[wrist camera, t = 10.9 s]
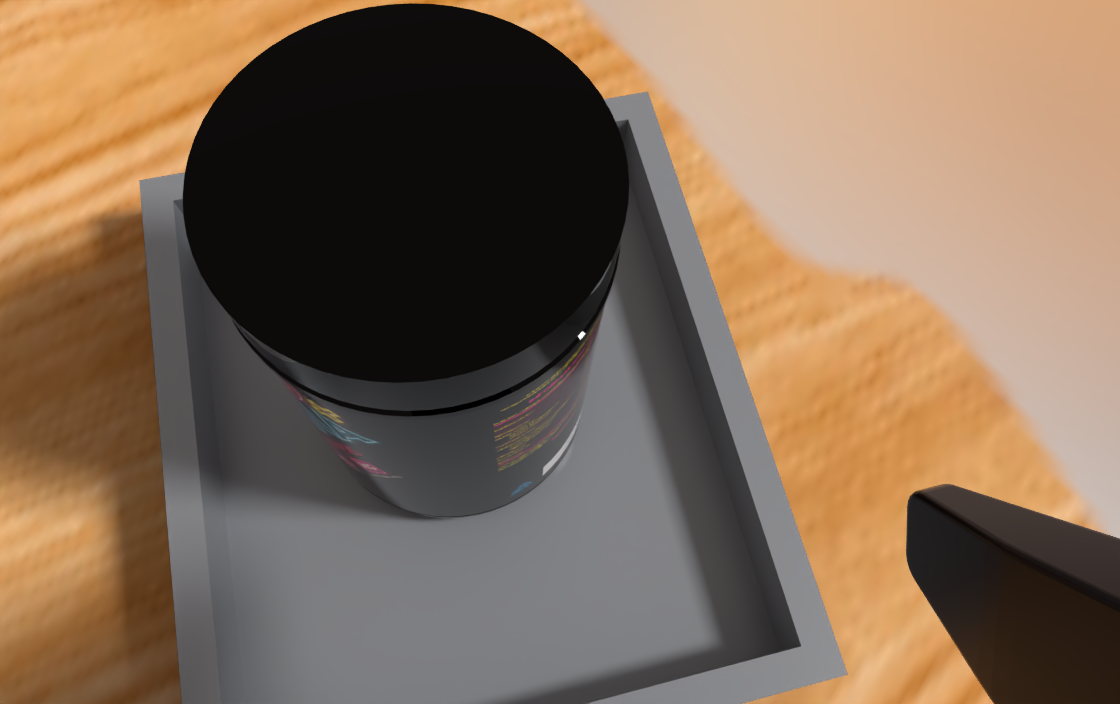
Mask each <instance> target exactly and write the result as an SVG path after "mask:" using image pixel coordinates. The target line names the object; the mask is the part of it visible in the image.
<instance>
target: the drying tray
mask: <svg viewBox="0 0 1120 704" xmlns="http://www.w3.org/2000/svg"><path fill="white" fill-rule="evenodd" d="M604 101H605V102H606V104H607V106H608V107H609V109H610V111H611V113H612V115H613V117H614V119H615V122H616V124H617V126H618V128H619V131H620V134H621V138H622V141H623V144H624V147H625V152H626V158H627V163H628V173H629V202H628V209H627V215H626V221H625V226H624V230H623V235H622V239H621V245H620V254H619V260H618V266H617V271H616V274H615V278H614V281H613V285H612V288H611V291H610V294H609V296H608V298H607V301H606V304H605V308H604V313H603V317H602V322H601V327H600V331H599V336H598V340H597V345H596V350H595V354H594V359H593V363H592V368H591V373H590V377H589V382H588V387H587V391H586V396H585V400H584V405H583V410H582V414H581V419H580V422H579V426H578V429H577V432H576V434H575V437H574V439H573V442H572V444H571V446H570V447H569V449H568V451H567V453H566V455H565V456H564V458H563V459H562V461H561V462H560V463H559V465H558V466H557V467H556V468H555V470H554V471H553V472H552V473H551V474H550V476H548V477H547V478H546V479H545V480H544V481H543V482H542V483H541V484H540V485H539V486H538V487H536V488H535V489H534V490H532V491H531V492H530V493H529V494H527V495H525V496H524V497H522V498H521V499H519V500H517V501H515V502H513V503H511V504H509V505H507V506H505V507H503V508H500V509H497V510H495V511H492V512H489V513H485V514H481V515H477V516H470V517H464V518H434V517H428V516H422V515H418V514H414V513H410V512H407V511H404V510H401V509H399V508H396V507H394V506H392V505H390V504H388V503H386V502H384V501H382V500H381V499H379V498H377V497H376V496H374V495H373V494H371V493H370V492H369V491H368V490H366V489H365V488H364V487H363V486H362V485H360V484H359V483H358V482H357V481H356V480H355V479H354V477H353V476H352V475H351V474H350V473H349V472H348V470H347V469H346V468H345V467H344V465H343V464H342V463H341V461H340V460H339V459H338V457H337V456H336V455H335V453H334V452H333V451H332V449H331V448H330V447H329V445H328V444H327V443H326V441H325V440H324V439H323V437H322V436H321V435H320V433H319V432H318V430H317V429H316V428H315V426H314V425H313V424H312V422H311V421H310V420H309V418H308V417H307V416H306V414H305V413H304V412H303V410H302V409H301V408H300V406H299V405H298V404H297V402H296V401H295V400H294V398H293V397H292V396H291V394H290V393H289V392H288V390H287V389H286V388H285V386H284V385H283V384H282V382H281V381H280V380H279V378H278V377H277V376H276V374H275V373H274V372H273V371H272V370H271V369H270V368H269V367H268V366H267V365H266V364H265V363H264V362H263V361H262V360H261V359H260V358H259V357H258V356H257V355H256V354H255V353H254V351H253V350H252V349H251V347H250V346H249V345H248V344H247V342H246V341H245V340H244V338H243V337H242V336H241V335H240V333H239V331H238V330H237V328H236V326H235V325H234V323H233V321H232V320H231V318H230V316H229V315H228V314H227V313H226V311H225V310H224V309H223V307H222V306H221V305H220V303H219V302H218V301H217V299H216V298H215V297H214V295H213V294H212V293H211V291H210V289H209V288H208V286H207V284H206V283H205V281H204V279H203V278H202V276H201V274H200V272H199V269H198V267H197V265H196V263H195V260H194V258H193V256H192V253H191V249H190V246H189V242H188V239H187V236H186V229H185V223H184V217H183V185H184V175H185V173H179V174H173V175H168V176H162V177H156V178H150V179H145V180H139V181H140V193H141V206H142V218H143V230H144V243H145V255H146V267H147V280H148V292H149V304H150V317H151V329H152V342H153V354H154V366H155V379H156V391H157V403H158V416H159V428H160V440H161V453H162V465H163V478H164V490H165V502H166V515H167V527H168V539H169V552H170V564H171V576H172V589H173V601H174V613H175V626H176V638H177V651H178V663H179V675H180V688H181V700H182V704H742V703H746V702H750V701H753V700H757V699H760V698H764V697H768V696H771V695H775V694H779V693H782V692H786V691H790V690H793V689H797V688H801V687H804V686H808V685H812V684H815V683H819V682H823V681H826V680H830V679H834V678H837V677H841V676H845V675H848V674H847V671H846V668H845V665H844V662H843V659H842V656H841V653H840V650H839V648H838V645H837V642H836V639H835V636H834V633H833V630H832V627H831V624H830V621H829V618H828V615H827V613H826V610H825V607H824V604H823V601H822V598H821V595H820V592H819V589H818V586H817V583H816V581H815V578H814V575H813V572H812V569H811V566H810V563H809V560H808V557H807V554H806V551H805V548H804V546H803V543H802V540H801V537H800V534H799V531H798V528H797V525H796V522H795V519H794V516H793V513H792V511H791V508H790V505H789V502H788V499H787V496H786V493H785V490H784V487H783V484H782V481H781V479H780V476H779V473H778V470H777V467H776V464H775V461H774V458H773V455H772V452H771V449H770V446H769V444H768V441H767V438H766V435H765V432H764V429H763V426H762V423H761V420H760V417H759V414H758V411H757V409H756V406H755V403H754V400H753V397H752V394H751V391H750V388H749V385H748V382H747V379H746V377H745V374H744V371H743V368H742V365H741V362H740V359H739V356H738V353H737V350H736V347H735V344H734V342H733V339H732V336H731V333H730V330H729V327H728V324H727V321H726V318H725V315H724V312H723V309H722V307H721V304H720V301H719V298H718V295H717V292H716V289H715V286H714V283H713V280H712V277H711V275H710V272H709V269H708V266H707V263H706V260H705V257H704V254H703V251H702V248H701V245H700V242H699V240H698V237H697V234H696V231H695V228H694V225H693V222H692V219H691V216H690V213H689V210H688V207H687V205H686V202H685V199H684V196H683V193H682V190H681V187H680V184H679V181H678V178H677V175H676V173H675V170H674V167H673V164H672V161H671V158H670V155H669V152H668V149H667V146H666V143H665V140H664V138H663V135H662V132H661V129H660V126H659V123H658V120H657V117H656V114H655V111H654V108H653V105H652V103H651V100H650V97H649V94H648V92H643V93H637V94H632V95H626V96H620V97H615V98H609V99H604Z"/></svg>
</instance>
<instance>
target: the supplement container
mask: <svg viewBox="0 0 1120 704" xmlns="http://www.w3.org/2000/svg"><path fill="white" fill-rule="evenodd" d="M628 202H629V173H628V163H627V158H626V152H625V147H624V144H623V141H622V138H621V134H620V131H619V128H618V126H617V124H616V122H615V119H614V117H613V115H612V113H611V111H610V109H609V107H608V106H607V104H606V102H605V101H604V99H603V97H602V96H601V94H600V93H599V91H598V90H597V89H596V87H595V86H594V85H593V83H592V82H591V81H590V79H589V78H588V77H587V76H586V75H585V74H584V73H583V72H582V71H581V70H580V69H579V68H578V66H577V65H575V64H574V63H573V62H572V61H571V60H570V59H569V58H568V57H566V56H565V55H564V54H563V53H562V52H560V51H559V50H558V49H556V48H555V47H553V46H552V45H551V44H549V43H548V42H547V41H545V40H543V39H542V38H540V37H538V36H536V35H535V34H533V33H531V32H530V31H528V30H526V29H523V28H521V27H519V26H517V25H515V24H513V23H511V22H508V21H505V20H503V19H500V18H497V17H495V16H492V15H488V14H485V13H481V12H477V11H474V10H469V9H464V8H459V7H453V6H445V5H435V4H392V5H383V6H376V7H368V8H364V9H359V10H355V11H350V12H346V13H343V14H340V15H336V16H333V17H330V18H327V19H324V20H322V21H319V22H317V23H314V24H311V25H309V26H307V27H305V28H303V29H301V30H299V31H297V32H295V33H293V34H291V35H289V36H287V37H285V38H284V39H282V40H281V41H279V42H277V43H276V44H274V45H272V46H271V47H269V48H268V49H267V50H265V51H264V52H263V53H261V54H260V55H259V56H257V57H256V58H255V59H254V60H252V61H251V62H250V63H249V64H248V65H247V66H246V67H245V68H243V69H242V70H241V71H240V72H239V73H238V74H237V75H236V76H235V77H234V78H233V80H232V81H231V82H230V83H229V84H228V85H227V86H226V87H225V88H224V90H223V91H222V92H221V94H220V95H219V96H218V98H217V99H216V100H215V102H214V103H213V105H212V106H211V108H210V110H209V111H208V113H207V114H206V116H205V118H204V119H203V121H202V124H201V126H200V128H199V130H198V132H197V134H196V136H195V139H194V142H193V145H192V148H191V151H190V154H189V157H188V161H187V166H186V171H185V175H184V185H183V217H184V223H185V229H186V236H187V239H188V242H189V246H190V249H191V253H192V256H193V258H194V260H195V263H196V265H197V267H198V269H199V272H200V274H201V276H202V278H203V279H204V281H205V283H206V284H207V286H208V288H209V289H210V291H211V293H212V294H213V295H214V297H215V298H216V299H217V301H218V302H219V303H220V305H221V306H222V307H223V309H224V310H225V311H226V313H227V314H228V315H229V316H230V318H231V320H232V321H233V323H234V325H235V326H236V328H237V330H238V331H239V333H240V335H241V336H242V337H243V338H244V340H245V341H246V342H247V344H248V345H249V346H250V347H251V349H252V350H253V351H254V353H255V354H256V355H257V356H258V357H259V358H260V359H261V360H262V361H263V362H264V363H265V364H266V365H267V366H268V367H269V368H270V369H271V370H272V371H273V372H274V373H275V374H276V376H277V377H278V378H279V380H280V381H281V382H282V384H283V385H284V386H285V388H286V389H287V390H288V392H289V393H290V394H291V396H292V397H293V398H294V400H295V401H296V402H297V404H298V405H299V406H300V408H301V409H302V410H303V412H304V413H305V414H306V416H307V417H308V418H309V420H310V421H311V422H312V424H313V425H314V426H315V428H316V429H317V430H318V432H319V433H320V435H321V436H322V437H323V439H324V440H325V441H326V443H327V444H328V445H329V447H330V448H331V449H332V451H333V452H334V453H335V455H336V456H337V457H338V459H339V460H340V461H341V463H342V464H343V465H344V467H345V468H346V469H347V470H348V472H349V473H350V474H351V475H352V476H353V477H354V479H355V480H356V481H357V482H358V483H359V484H360V485H362V486H363V487H364V488H365V489H366V490H368V491H369V492H370V493H371V494H373V495H374V496H376V497H377V498H379V499H381V500H382V501H384V502H386V503H388V504H390V505H392V506H394V507H396V508H399V509H401V510H404V511H407V512H410V513H414V514H418V515H422V516H428V517H434V518H464V517H470V516H477V515H481V514H485V513H489V512H492V511H495V510H497V509H500V508H503V507H505V506H507V505H509V504H511V503H513V502H515V501H517V500H519V499H521V498H522V497H524V496H525V495H527V494H529V493H530V492H531V491H532V490H534V489H535V488H536V487H538V486H539V485H540V484H541V483H542V482H543V481H544V480H545V479H546V478H547V477H548V476H550V474H551V473H552V472H553V471H554V470H555V468H556V467H557V466H558V465H559V463H560V462H561V461H562V459H563V458H564V456H565V455H566V453H567V451H568V449H569V447H570V446H571V444H572V442H573V439H574V437H575V434H576V432H577V429H578V426H579V422H580V419H581V414H582V410H583V405H584V400H585V396H586V391H587V387H588V382H589V377H590V373H591V368H592V363H593V359H594V354H595V350H596V345H597V340H598V336H599V331H600V327H601V322H602V317H603V313H604V308H605V304H606V301H607V298H608V296H609V294H610V291H611V288H612V285H613V281H614V278H615V274H616V271H617V266H618V260H619V254H620V245H621V239H622V235H623V230H624V226H625V221H626V215H627V209H628Z"/></svg>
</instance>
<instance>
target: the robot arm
mask: <svg viewBox="0 0 1120 704" xmlns="http://www.w3.org/2000/svg"><path fill="white" fill-rule="evenodd" d="M906 556H907V562H908V566H909V569H910V571H911V574H912V576H913V578H914V579H915V581H916V583H917V584H918V586H919V587H920V589H921V591H922V592H923V594H924V595H925V597H926V599H927V600H928V602H929V603H930V605H931V606H932V608H933V610H934V611H935V613H936V614H937V616H938V618H939V619H940V621H941V622H942V624H943V626H944V627H945V629H946V630H947V632H948V633H949V635H950V637H951V638H952V640H953V641H954V643H955V645H956V646H957V648H958V649H959V651H960V653H961V654H962V656H963V657H964V659H965V660H966V662H967V664H968V665H969V667H970V668H971V670H972V672H973V673H974V675H975V676H976V678H977V679H978V681H979V682H980V684H981V685H982V687H983V688H984V690H985V691H986V693H987V694H988V696H989V697H990V699H991V700H992V701H993V703H994V704H1120V539H1119V538H1116V537H1113V536H1110V535H1107V534H1104V533H1101V532H1097V531H1094V530H1091V529H1088V528H1085V527H1082V526H1079V525H1076V524H1073V523H1069V522H1066V521H1063V520H1060V519H1057V518H1054V517H1051V516H1048V515H1045V514H1042V513H1038V512H1035V511H1032V510H1029V509H1026V508H1023V507H1020V506H1017V505H1014V504H1010V503H1007V502H1004V501H1001V500H998V499H995V498H992V497H989V496H986V495H983V494H979V493H976V492H973V491H970V490H967V489H964V488H961V487H958V486H955V485H951V484H942V485H938V486H934V487H930V488H926V489H922V490H918V491H915V492H914V493H913V494H912V495H911V496H910V498H909V500H908V506H907V541H906Z"/></svg>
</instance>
